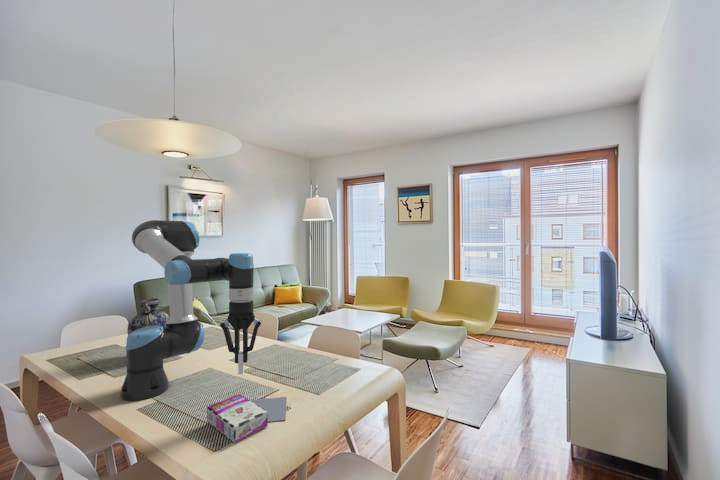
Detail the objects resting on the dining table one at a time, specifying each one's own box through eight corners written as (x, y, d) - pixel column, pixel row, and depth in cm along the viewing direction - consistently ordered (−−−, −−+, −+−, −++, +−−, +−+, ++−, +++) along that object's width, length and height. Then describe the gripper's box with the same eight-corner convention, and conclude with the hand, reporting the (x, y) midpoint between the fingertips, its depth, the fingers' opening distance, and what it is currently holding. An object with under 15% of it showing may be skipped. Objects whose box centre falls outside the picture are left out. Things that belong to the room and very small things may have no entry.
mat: (224, 427, 103) (224, 426, 103) (233, 402, 119) (233, 401, 119) (285, 420, 106) (285, 419, 106) (286, 397, 122) (286, 396, 122)
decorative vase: (169, 361, 160) (168, 301, 160) (122, 367, 153) (121, 305, 153) (175, 348, 180) (174, 295, 180) (134, 353, 173) (132, 298, 173)
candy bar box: (206, 422, 105) (233, 444, 94) (206, 406, 105) (233, 427, 94) (240, 408, 113) (268, 426, 103) (239, 393, 113) (268, 410, 102)
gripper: (217, 303, 107) (217, 378, 107) (260, 301, 109) (260, 375, 109) (222, 299, 114) (222, 369, 114) (263, 297, 117) (262, 366, 117)
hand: (241, 372), depth 112 cm, fingers closed
